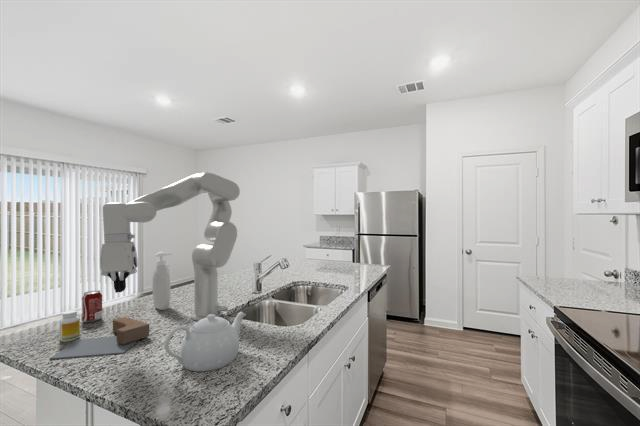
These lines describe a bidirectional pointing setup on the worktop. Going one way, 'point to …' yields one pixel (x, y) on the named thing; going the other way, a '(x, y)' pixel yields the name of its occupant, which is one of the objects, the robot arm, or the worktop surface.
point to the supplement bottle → (69, 326)
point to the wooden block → (129, 330)
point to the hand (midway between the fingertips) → (120, 291)
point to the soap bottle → (161, 284)
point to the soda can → (91, 306)
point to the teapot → (208, 343)
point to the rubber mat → (93, 348)
